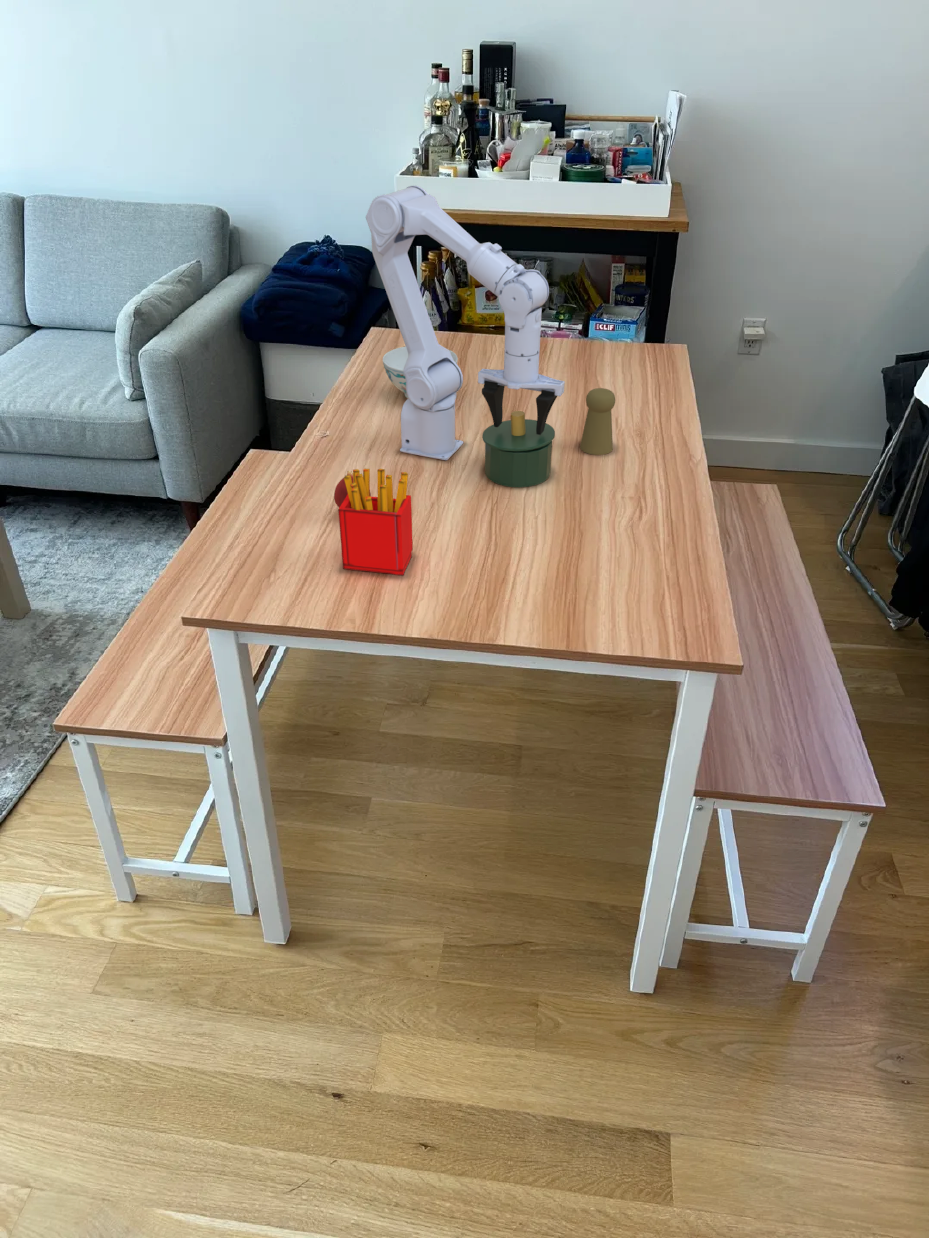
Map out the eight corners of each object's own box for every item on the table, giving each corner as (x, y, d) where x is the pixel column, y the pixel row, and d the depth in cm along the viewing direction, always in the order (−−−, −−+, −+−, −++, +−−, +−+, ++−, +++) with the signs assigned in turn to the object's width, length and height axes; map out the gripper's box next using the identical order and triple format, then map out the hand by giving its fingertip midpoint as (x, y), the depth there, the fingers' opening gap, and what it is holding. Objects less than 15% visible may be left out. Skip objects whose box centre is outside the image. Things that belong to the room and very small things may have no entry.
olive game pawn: (611, 456, 174) (617, 398, 167) (578, 453, 175) (582, 396, 168) (614, 442, 179) (619, 385, 172) (581, 439, 180) (586, 383, 173)
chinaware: (471, 390, 198) (471, 354, 194) (430, 415, 188) (430, 377, 183) (412, 376, 205) (410, 340, 200) (369, 399, 194) (367, 362, 190)
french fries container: (355, 547, 148) (349, 464, 140) (413, 553, 146) (411, 469, 138) (342, 571, 142) (335, 486, 134) (402, 577, 141) (399, 492, 132)
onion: (377, 510, 157) (375, 466, 152) (363, 527, 152) (360, 482, 148) (345, 505, 158) (341, 461, 154) (330, 521, 154) (325, 476, 149)
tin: (474, 480, 166) (475, 445, 162) (498, 453, 174) (499, 420, 171) (537, 492, 162) (539, 457, 159) (558, 464, 171) (560, 431, 167)
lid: (471, 450, 162) (469, 424, 160) (498, 422, 172) (496, 396, 169) (541, 458, 158) (540, 431, 155) (564, 428, 167) (564, 403, 165)
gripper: (471, 352, 155) (470, 430, 163) (556, 365, 151) (552, 445, 158) (487, 338, 160) (485, 415, 168) (570, 350, 156) (565, 428, 164)
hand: (518, 428), depth 164 cm, fingers open, 7 cm apart
